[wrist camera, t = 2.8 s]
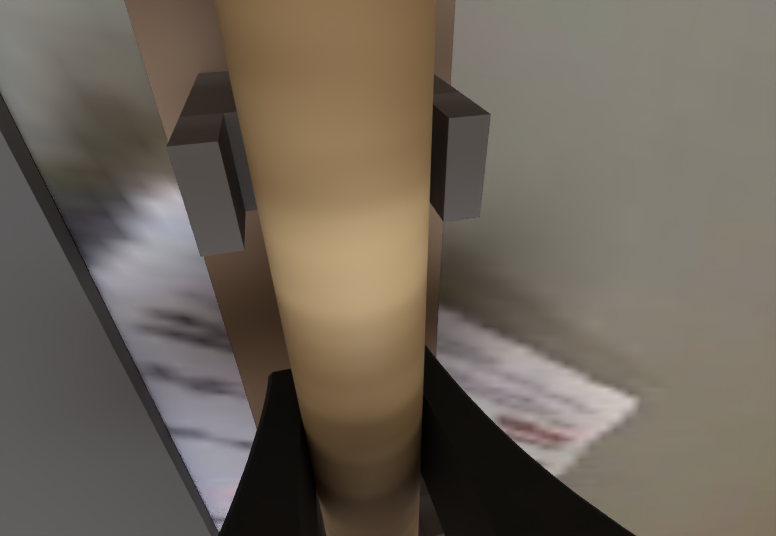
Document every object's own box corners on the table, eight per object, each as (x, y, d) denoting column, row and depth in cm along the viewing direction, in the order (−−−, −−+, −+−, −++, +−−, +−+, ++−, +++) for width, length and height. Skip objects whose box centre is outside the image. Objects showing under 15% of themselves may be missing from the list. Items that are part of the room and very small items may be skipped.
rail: (404, 555, 16) (425, 637, 14) (338, 574, 16) (349, 660, 14) (404, -83, 6) (478, -97, 4) (205, -79, 5) (179, -93, 3)
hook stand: (420, 488, 21) (459, 612, 17) (290, 520, 20) (300, 660, 16) (449, -307, 7) (677, -601, 3) (37, -338, 6) (-324, -814, 2)
